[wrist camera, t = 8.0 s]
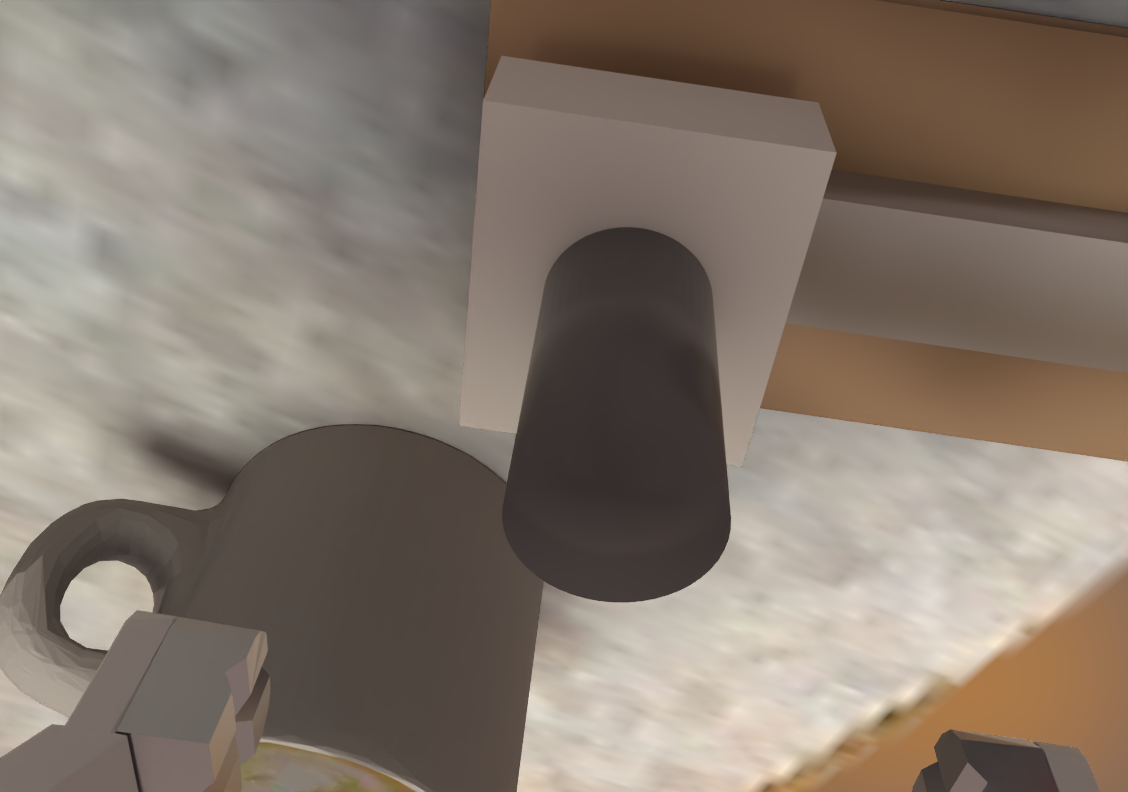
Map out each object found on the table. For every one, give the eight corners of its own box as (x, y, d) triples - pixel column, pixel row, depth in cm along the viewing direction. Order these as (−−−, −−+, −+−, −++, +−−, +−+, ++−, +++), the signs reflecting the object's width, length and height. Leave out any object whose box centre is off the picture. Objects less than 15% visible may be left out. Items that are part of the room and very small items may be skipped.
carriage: (501, 55, 19) (410, 275, 12) (819, 102, 19) (907, 349, 12) (476, 361, 23) (397, 654, 16) (735, 399, 23) (766, 706, 16)
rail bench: (500, -66, 20) (483, -37, 18) (1532, 88, 20) (1624, 133, 18) (468, 347, 26) (453, 402, 24) (1265, 463, 26) (1313, 527, 24)
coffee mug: (613, 559, 30) (595, 886, 22) (411, 696, 35) (336, 1006, 27) (238, 281, 25) (39, 568, 17) (63, 483, 30) (-155, 783, 22)
